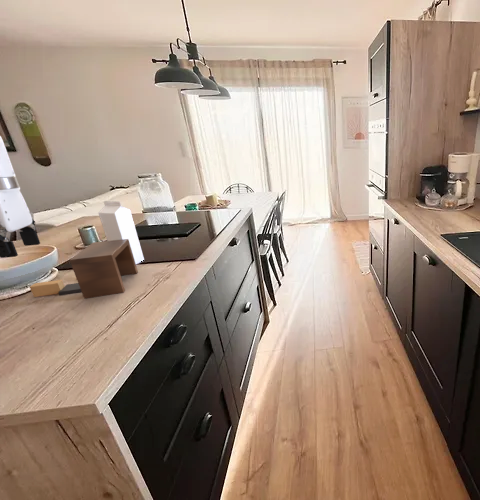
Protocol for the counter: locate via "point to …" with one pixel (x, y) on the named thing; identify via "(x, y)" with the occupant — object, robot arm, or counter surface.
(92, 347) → the counter surface
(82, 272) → the stand
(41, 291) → the fish slice
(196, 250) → the counter surface
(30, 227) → the robot arm
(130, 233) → the milk
